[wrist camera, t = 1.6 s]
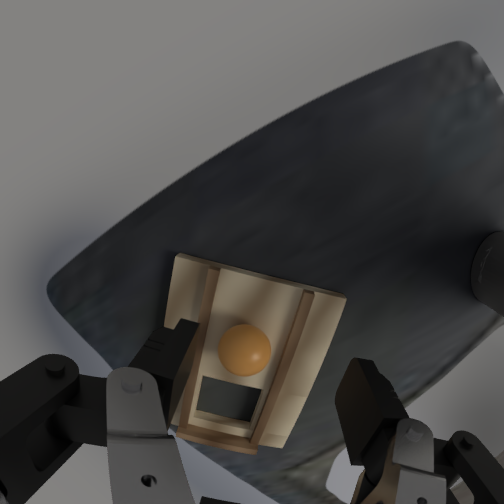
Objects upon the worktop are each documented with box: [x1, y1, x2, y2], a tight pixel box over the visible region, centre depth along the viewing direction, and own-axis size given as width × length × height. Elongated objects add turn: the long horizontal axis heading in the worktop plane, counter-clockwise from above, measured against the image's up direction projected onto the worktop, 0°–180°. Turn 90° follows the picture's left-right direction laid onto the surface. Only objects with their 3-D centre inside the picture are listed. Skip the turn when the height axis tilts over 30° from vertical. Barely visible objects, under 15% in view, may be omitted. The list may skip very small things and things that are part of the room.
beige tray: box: [164, 253, 347, 455], centre depth 31 cm, size 17×22×4 cm
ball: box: [218, 324, 271, 377], centre depth 28 cm, size 5×5×5 cm
